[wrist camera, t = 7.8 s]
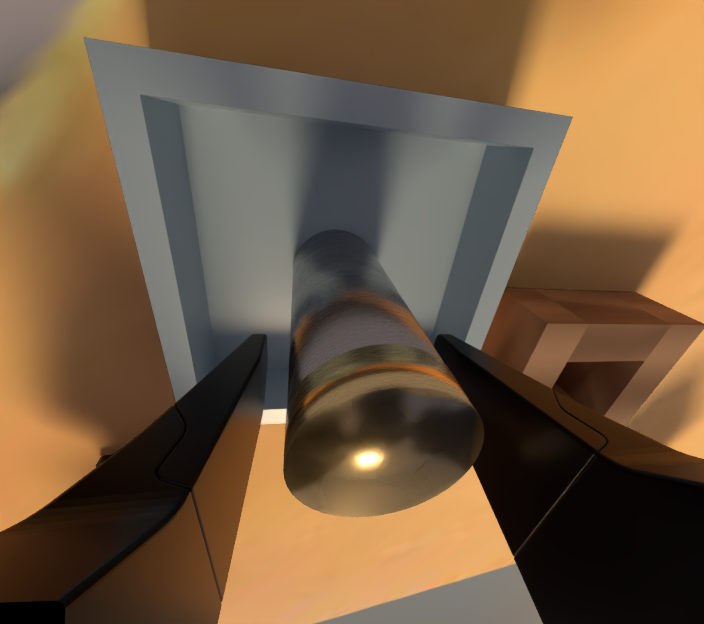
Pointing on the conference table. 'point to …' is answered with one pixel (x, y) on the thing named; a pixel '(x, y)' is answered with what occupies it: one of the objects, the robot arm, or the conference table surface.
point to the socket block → (590, 344)
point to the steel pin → (367, 390)
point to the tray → (310, 196)
